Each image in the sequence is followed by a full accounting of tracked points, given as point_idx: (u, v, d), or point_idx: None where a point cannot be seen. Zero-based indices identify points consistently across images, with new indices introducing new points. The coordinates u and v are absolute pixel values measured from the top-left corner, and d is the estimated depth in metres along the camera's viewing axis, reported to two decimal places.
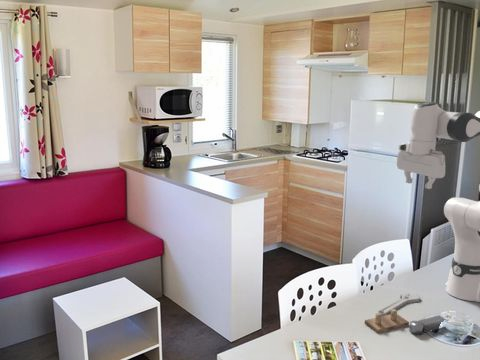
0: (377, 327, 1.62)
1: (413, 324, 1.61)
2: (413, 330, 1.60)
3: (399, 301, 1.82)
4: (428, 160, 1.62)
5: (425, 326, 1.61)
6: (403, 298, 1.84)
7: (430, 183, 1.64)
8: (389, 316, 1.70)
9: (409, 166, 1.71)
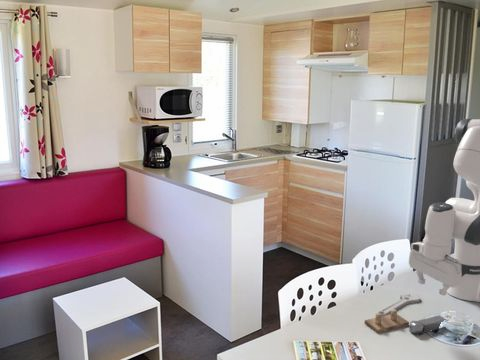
0: (377, 327, 1.62)
1: (413, 324, 1.61)
2: (413, 330, 1.60)
3: (399, 302, 1.81)
4: (443, 266, 1.53)
5: (425, 326, 1.61)
6: (403, 299, 1.84)
7: (445, 290, 1.55)
8: (389, 316, 1.70)
9: (422, 268, 1.62)
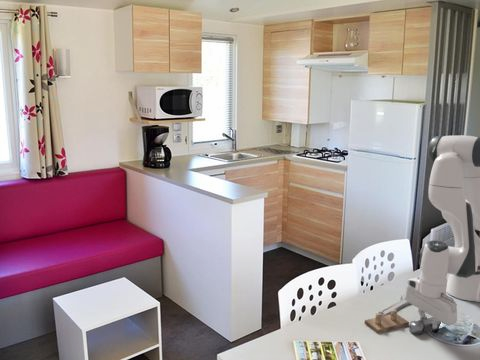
0: (377, 327, 1.62)
1: (413, 324, 1.61)
2: (413, 330, 1.60)
3: (399, 302, 1.81)
4: (439, 304, 1.56)
5: (425, 326, 1.61)
6: (403, 299, 1.83)
7: (435, 323, 1.60)
8: (389, 316, 1.70)
9: (418, 304, 1.65)
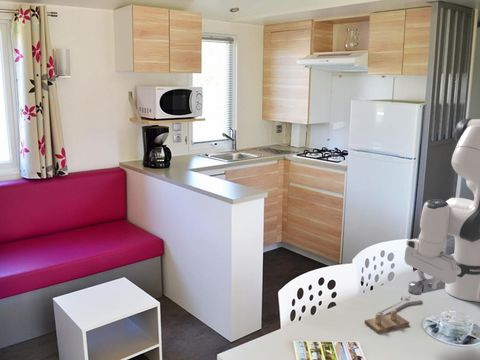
0: (377, 327, 1.62)
1: (412, 284, 1.58)
2: (412, 290, 1.57)
3: (399, 303, 1.80)
4: (438, 263, 1.53)
5: (424, 286, 1.58)
6: (403, 300, 1.83)
7: (435, 283, 1.57)
8: (389, 316, 1.70)
9: (417, 264, 1.62)
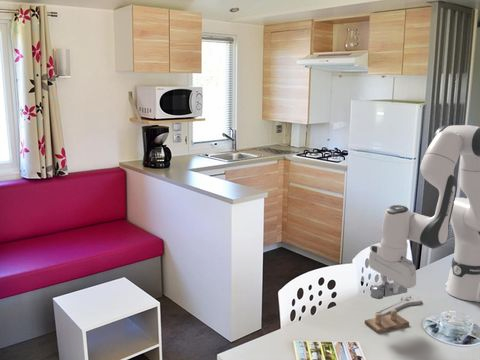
0: (377, 327, 1.62)
1: (374, 288, 1.61)
2: (374, 294, 1.60)
3: (399, 303, 1.80)
4: (399, 268, 1.56)
5: (386, 290, 1.61)
6: (403, 300, 1.82)
7: (396, 287, 1.60)
8: (389, 316, 1.70)
9: (380, 269, 1.65)
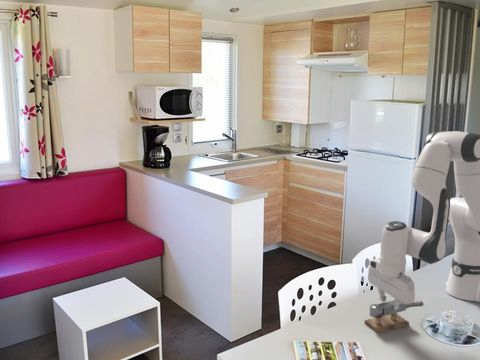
0: (377, 327, 1.62)
1: (372, 307, 1.63)
2: (372, 313, 1.62)
3: None
4: (397, 284, 1.58)
5: (385, 309, 1.63)
6: None
7: (397, 304, 1.61)
8: (389, 316, 1.70)
9: (379, 284, 1.66)
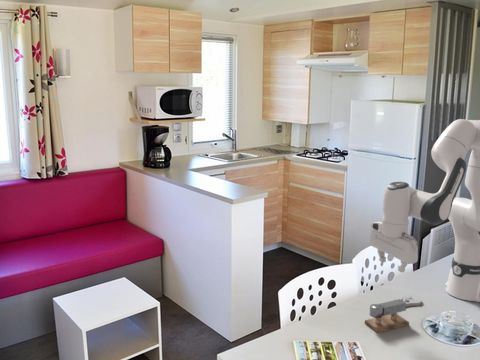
0: (377, 327, 1.62)
1: (372, 307, 1.63)
2: (372, 313, 1.62)
3: None
4: (400, 244, 1.56)
5: (385, 309, 1.63)
6: None
7: (403, 267, 1.58)
8: (389, 316, 1.70)
9: (382, 246, 1.65)
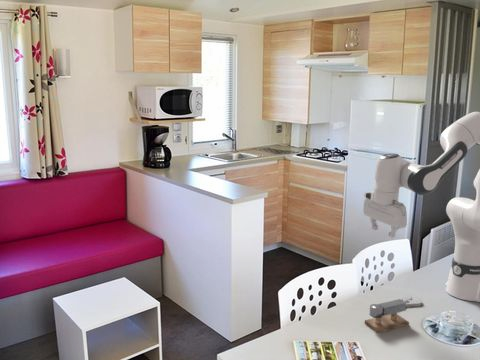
0: (377, 327, 1.62)
1: (372, 307, 1.63)
2: (372, 313, 1.62)
3: None
4: (391, 210, 1.68)
5: (385, 309, 1.63)
6: None
7: (393, 232, 1.70)
8: (389, 316, 1.70)
9: (374, 214, 1.76)
